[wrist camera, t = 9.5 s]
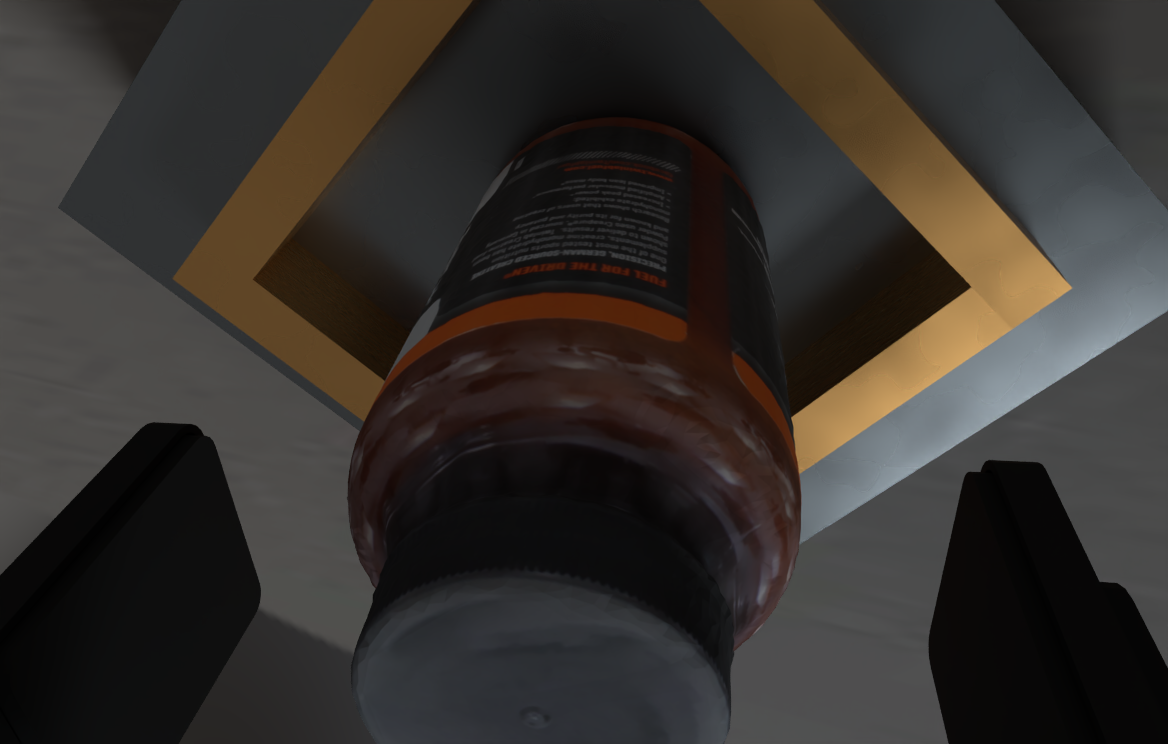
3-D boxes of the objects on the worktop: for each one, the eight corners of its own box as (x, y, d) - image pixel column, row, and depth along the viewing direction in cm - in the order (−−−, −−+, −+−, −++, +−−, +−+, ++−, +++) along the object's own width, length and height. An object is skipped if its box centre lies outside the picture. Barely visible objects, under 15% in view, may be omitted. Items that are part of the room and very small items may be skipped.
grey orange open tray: (1122, 184, 22) (1276, 326, 16) (654, 521, 29) (640, 703, 23) (397, -685, 15) (202, -989, 9) (35, 27, 23) (-199, 105, 17)
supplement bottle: (422, 194, 18) (123, 609, 9) (680, 47, 16) (649, 385, 7) (571, 409, 21) (460, 915, 11) (813, 305, 19) (925, 819, 9)
